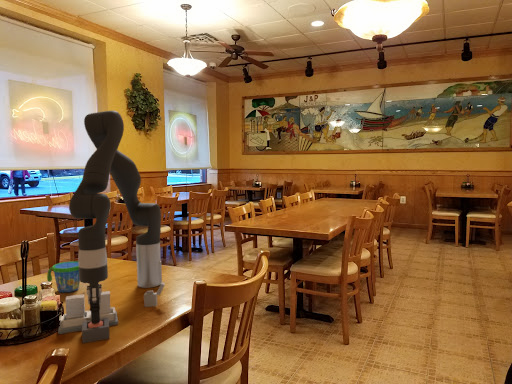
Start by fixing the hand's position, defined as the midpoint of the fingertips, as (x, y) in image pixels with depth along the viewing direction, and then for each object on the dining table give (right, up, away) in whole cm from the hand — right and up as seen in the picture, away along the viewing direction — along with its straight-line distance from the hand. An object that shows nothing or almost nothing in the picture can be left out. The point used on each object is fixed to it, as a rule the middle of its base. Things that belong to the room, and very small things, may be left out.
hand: (95, 322), depth 111 cm
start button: (0, -3, 0) cm, 3 cm away
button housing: (0, -4, 0) cm, 4 cm away
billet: (-9, -2, +7) cm, 12 cm away
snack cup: (-27, -1, +40) cm, 48 cm away
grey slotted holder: (-6, -3, +9) cm, 11 cm away
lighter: (+11, -2, +23) cm, 26 cm away
